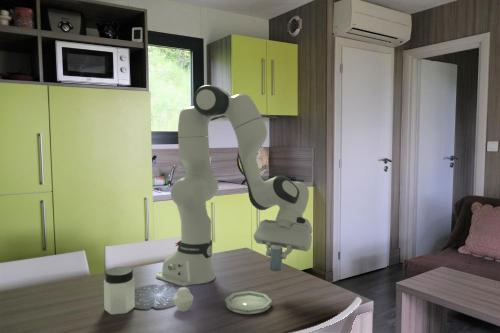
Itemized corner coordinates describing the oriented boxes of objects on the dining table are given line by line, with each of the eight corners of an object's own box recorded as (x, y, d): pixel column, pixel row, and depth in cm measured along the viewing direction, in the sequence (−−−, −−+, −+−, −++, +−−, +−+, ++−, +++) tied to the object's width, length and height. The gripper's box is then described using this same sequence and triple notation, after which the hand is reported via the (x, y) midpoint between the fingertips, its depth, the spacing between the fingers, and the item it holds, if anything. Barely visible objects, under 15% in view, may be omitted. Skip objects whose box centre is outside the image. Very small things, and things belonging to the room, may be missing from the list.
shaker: (268, 270, 133) (268, 246, 132) (272, 266, 136) (273, 243, 136) (279, 271, 131) (280, 248, 131) (283, 268, 135) (284, 245, 134)
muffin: (175, 304, 126) (175, 283, 125) (195, 305, 126) (194, 283, 125) (171, 313, 120) (171, 290, 119) (191, 313, 119) (191, 291, 119)
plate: (218, 310, 122) (218, 304, 122) (238, 293, 135) (238, 288, 135) (260, 318, 116) (260, 313, 116) (277, 301, 129) (277, 295, 129)
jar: (102, 316, 118) (101, 276, 117) (106, 304, 126) (105, 267, 125) (134, 313, 120) (133, 274, 119) (135, 302, 128) (134, 265, 127)
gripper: (258, 214, 143) (245, 247, 136) (312, 220, 134) (301, 257, 126) (264, 223, 148) (251, 256, 140) (316, 231, 138) (306, 266, 130)
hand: (275, 256), depth 133 cm, fingers closed on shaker, 4 cm apart
